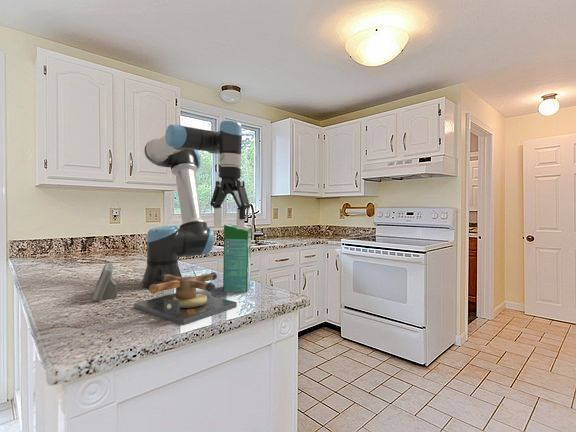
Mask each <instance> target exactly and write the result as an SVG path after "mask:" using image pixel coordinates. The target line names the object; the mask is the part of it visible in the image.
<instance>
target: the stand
mask: <svg viewBox="0 0 576 432" xmlns="http://www.w3.org/2000/svg"><path fill="white" fill-rule="evenodd" d="M196 294H203V295H206V296H207V303H206V304H204V305H202V306H198V307H190V308H182V307H180V301H176V300H173V298H174V297H176V292H175V293H172V294H171V293H170V294H168V295H163V296H158V297H154V298H151V299H146V300H142V301H141V300H140V301H138V302H134V303H133V309H135V310H138V311H142V312H143V313H147V314H150V315H153V316H156V317H159V318H161V319H165V320H167V321H171V322H174V323H176V324H179V325H182V326H184V325H185V326H186V325H187V324H190V323H193V322H197V321H199V320H203V319H206V318H209V317H212V316H215V315H217V314H220V313H222V312H227V311H229V310H232V309H234V308H238V306H237V305H238V302H237V301H233V300H229V299H226V298H221V297H216V296H213V295H208V294H204V293H200V292H196Z"/></svg>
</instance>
